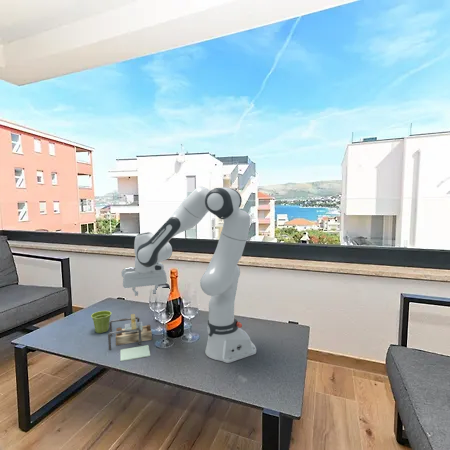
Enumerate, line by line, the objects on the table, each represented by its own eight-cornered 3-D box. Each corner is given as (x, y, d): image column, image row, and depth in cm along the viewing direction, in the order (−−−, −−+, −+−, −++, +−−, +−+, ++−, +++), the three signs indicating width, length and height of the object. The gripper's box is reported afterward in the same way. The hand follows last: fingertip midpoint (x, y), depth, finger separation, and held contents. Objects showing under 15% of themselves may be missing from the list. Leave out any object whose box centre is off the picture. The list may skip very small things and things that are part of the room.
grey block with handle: (142, 329, 142) (141, 320, 142) (142, 333, 138) (142, 323, 138) (124, 332, 139) (124, 322, 139) (124, 335, 136) (124, 326, 135)
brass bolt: (134, 316, 146) (134, 311, 146) (136, 329, 132) (136, 324, 131) (130, 316, 145) (130, 312, 145) (131, 329, 131) (131, 325, 131)
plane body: (149, 329, 148) (149, 315, 148) (152, 342, 135) (151, 326, 134) (110, 335, 142) (109, 320, 141) (108, 349, 129) (107, 333, 128)
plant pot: (98, 326, 152) (97, 310, 152) (115, 326, 152) (114, 310, 151) (88, 334, 143) (87, 317, 142) (106, 335, 142) (105, 318, 141)
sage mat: (148, 346, 132) (148, 345, 132) (150, 356, 124) (150, 355, 124) (120, 350, 128) (120, 349, 128) (120, 361, 120) (120, 360, 120)
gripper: (121, 270, 131) (122, 299, 133) (167, 266, 138) (167, 294, 139) (121, 266, 137) (122, 295, 138) (165, 263, 144) (165, 290, 145)
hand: (145, 294), depth 139 cm, fingers open, 7 cm apart
